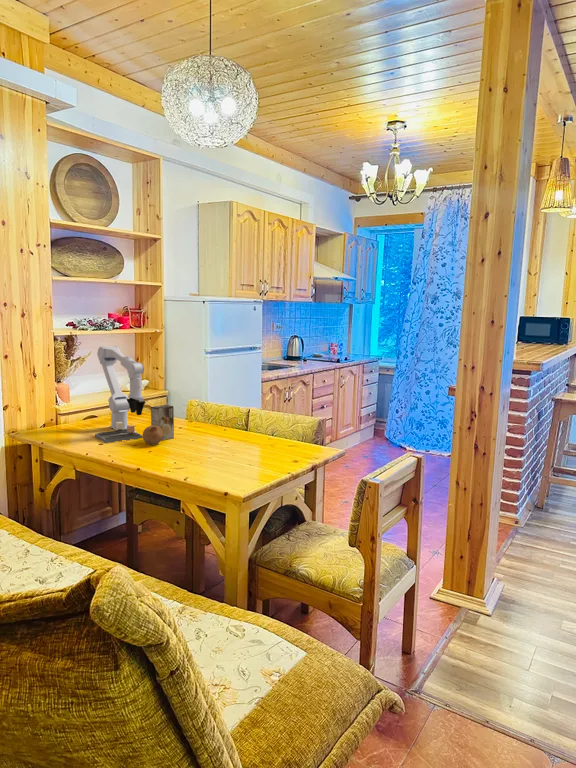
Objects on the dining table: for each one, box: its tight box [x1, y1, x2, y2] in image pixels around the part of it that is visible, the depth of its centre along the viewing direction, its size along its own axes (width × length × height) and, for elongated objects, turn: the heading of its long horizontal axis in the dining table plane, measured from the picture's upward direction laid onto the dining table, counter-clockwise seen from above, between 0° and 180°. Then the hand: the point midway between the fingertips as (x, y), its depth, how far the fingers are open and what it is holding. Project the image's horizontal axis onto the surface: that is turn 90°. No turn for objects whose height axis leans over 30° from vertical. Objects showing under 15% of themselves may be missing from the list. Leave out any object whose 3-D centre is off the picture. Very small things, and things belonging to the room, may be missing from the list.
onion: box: [142, 425, 163, 446], centre depth 250 cm, size 10×9×10 cm
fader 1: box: [116, 422, 124, 432], centre depth 264 cm, size 3×2×5 cm
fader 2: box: [127, 424, 135, 435], centre depth 258 cm, size 3×2×5 cm
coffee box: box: [150, 404, 175, 441], centre depth 260 cm, size 9×6×16 cm
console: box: [94, 429, 143, 444], centre depth 260 cm, size 15×18×3 cm
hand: (136, 413), depth 270 cm, fingers open, 7 cm apart
